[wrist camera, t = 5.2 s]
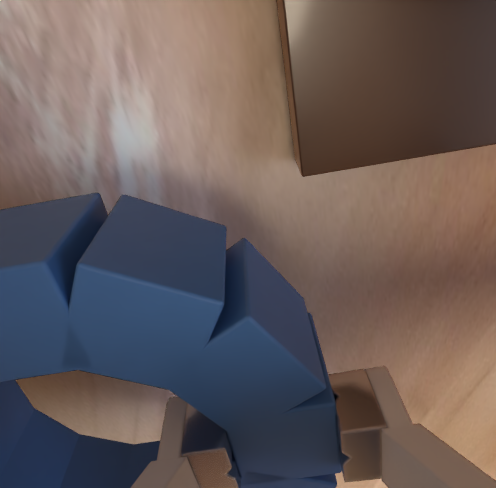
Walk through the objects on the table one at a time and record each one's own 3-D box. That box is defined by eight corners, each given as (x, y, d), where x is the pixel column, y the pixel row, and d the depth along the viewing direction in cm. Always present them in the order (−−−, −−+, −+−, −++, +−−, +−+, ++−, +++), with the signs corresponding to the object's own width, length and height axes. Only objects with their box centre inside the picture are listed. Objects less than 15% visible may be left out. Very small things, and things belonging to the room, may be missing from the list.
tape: (28, 500, 15) (-16, 604, 12) (-184, 241, 9) (-351, 328, 7) (328, 459, 14) (350, 559, 11) (292, 156, 9) (319, 214, 6)
